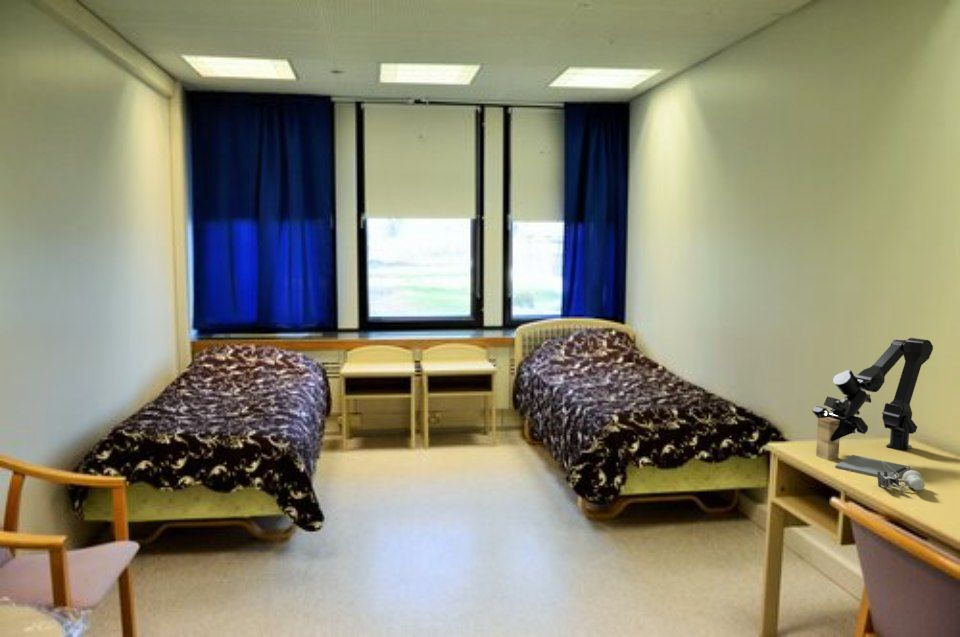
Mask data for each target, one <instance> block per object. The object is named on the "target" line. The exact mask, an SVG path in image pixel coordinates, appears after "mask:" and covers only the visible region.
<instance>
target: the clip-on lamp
mask: <svg viewBox="0 0 960 637" xmlns="http://www.w3.org/2000/svg"><path fill="white" fill-rule="evenodd" d="M881 461H882V462H881V463H882V465H883V463H884V464H886V463H885V462H883V461H884V460H881ZM886 465H887V464H886ZM883 466H884V465H883ZM887 466H888V467H890V466H889V465H887ZM884 468H885V467H884ZM890 468H891V467H890ZM907 468H908V467H902V468H900V469H898V470H894V469H893V468H891V469H892V470H893V473H891V472H889V471H888V472H889V473H891V474H895V475H894V477H895V478H894V477H891V476H889V475H887V472H886V471H885V472H884V476H881V474H880V472H877V473H878V477H877V485H878V487H883V488H885V489H887V488H888V487H892V488H896V489H899V490H900V491H901V492H905V488H904V487H903V486H902V484H900V483H904V485H906V487H909V488H912V489H914V490H915V491H920V490H923V489H924V488H925V484H926V483H925V481H924V478H923V475H922V474H921V473H920V472H919V471H917V470H914V469H909V470H907V471H906V472H905V473H904V474H902V478H900V477H899V474H898V473H900V472H901V471H903V470H905V469H907ZM885 469H886V468H885ZM886 470H887V469H886ZM896 474H897V475H898V476H896Z"/></svg>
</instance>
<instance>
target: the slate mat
mask: <svg viewBox="0 0 960 637" xmlns="http://www.w3.org/2000/svg"><path fill="white" fill-rule="evenodd" d="M882 461H883V462H885V463H886V464H887V465H889V466H890V467H891V468H893V469H894V470H898V469H900V468H902V467H908V468H907V469H905V470H903V471H901V472H900V473H898V474H899V477H898V478H900V477H901V476H903V475H904V473H905V472H906V471H909V470H911V469H910V468H911V466H910V465H904V464H900V463H896V462H890V461H884V460H880V459H877V458H876V459H875V458H871V457H866V456H860V455H855V454H852V455H850V456H848V457H847V458H845V459H843V460H842V461H840V462H838V463H836V464H835V465H834V469H839V468H840V469H839V470H843V469H845V470H844V471H848V470H851V471H850V472H853V471H855V472H854V473H857V472H859V473H858V474H862V473H863V475H866V474H868V476H871V475H872V476H871V477H876V476H877V478H878V473H877V472H880V474H881V476H884V472H885V471H886V472H887V475H889V476H891V477H894V475H895V474H891V473H893V470H892V469H891V468H890V467H888V466H887V465H886V464H884V463H883V465H884V466H883V465H882V463H881V462H882ZM884 467H885V468H886V469H887V470H886V469H885V468H884ZM888 471H889V472H891V473H889V472H888ZM896 476H898V475H897V474H896ZM894 478H895V477H894Z"/></svg>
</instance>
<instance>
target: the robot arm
mask: <svg viewBox="0 0 960 637" xmlns="http://www.w3.org/2000/svg"><path fill="white" fill-rule="evenodd" d="M933 350H934V345H933V344H932V342H931V341H930V340H929V339H923V338H915V337H909V338H908V339H893V340H892V341H891V343H890V346H889V347H888V348H887V349H886V350H885V351H884V352H883V354H881V356H879V358H878V359H877V360H876V361H875V362H874V363H873V365H871V366H870V367H867V368H865V369H863V370H861V371H860V372H859V373H858V374H856V376H855V375H854V373H853V371H852V370H850V369H846V370H844V371H842V372H839V373H838V374H836V375H834V376H833V379H832V381H833V383H834V385H835V386H836V387H837V389H838V390H839V391H840V392H841V394H842V395H843V396H844V395H845V396H844V398H843V397H841V398H835V397H833V396H832V397H831V396H826V397H825V400H824V403H823V406H825V407H822V406H820V405H819V406H818V405H817V406H816V405H815V406H814V407H813V409H812V410H811V412H812V413H813V415H814V416H815V417H816V418H817V419H818V418H826V417H830V418H833V419H837V420H840V423H839V427H838V428H837V430H836V431H835V432H834V434H833V435H832V437H831V439H830V440H831V441H835V440H837V439H839V438H840V439H841V438H844V437H846V436H849V435H851V434H856V433H859V434H862V435H865V434H866V433H867V432H868V430H869V426H868V424H867V423H866V422H865V420H864V419H863V418H862V417H860V416H859V415H860V414H861V412H860V409H861V408H862V406H863V405H864V404H865V403H870V404H871V403H872V398H871V394H868V393H867V392H871V393H877V392H878V391H880V389H881V388H882V387H883V385H884V383H885V381H886V380H885V377H886V376H887V374H888V373H889V372H890V370H892V368H893V367H894V366H895V365H896V364H897V363H898V361H900V359H901V358H902V357H903V358H904V360H905V361H904V365H903V369H902V371H901V375H900V377H899V380H898V384H897V387H896V391H895V394H894V397H893V400H891V401H890V403H889V402H885V405H884V408H883V411H882V412H881V414H882V421H883V425H884V426H883V427H884V428H885V429H889V430H890V432H889V433H890V434H889V436H890V437H889V443H887V444H886V445H885V447H886V448H890V449H896V450H901V451H908V450H909V449H911V448H913V446H912V445H911V444H910V445H909V442H910V435H912V434H915V433H916V432H917V430H918V429H917V428H918V426H917V425H916V424H915V422H914V421H913V419H912V417H913V410H912V408H911V402H912V398H913V395H914V391H915V388H916V384H917V381H918V378H919V374H920V371H921V368H922V365H924V363H926V362H927V361H928V360H929V359H930V358H931V355H932V352H933ZM826 407H828V408H830V409H829V410H830V411H831V412H832V413H831V412H830V411H829V410H828V409H827V408H826ZM856 415H857V416H856Z"/></svg>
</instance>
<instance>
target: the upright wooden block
mask: <svg viewBox="0 0 960 637" xmlns="http://www.w3.org/2000/svg"><path fill="white" fill-rule="evenodd" d="M839 423H840V420H837V419H833V418H830V417H826V418H817V428H816V429H817V430H816V431H817V433H816V449H815V450H816V451H815V455H816V456H815V457H818V458H822V459H824V460H826V461H830V460H836V459H839V455H840V439H841V438H839V439H837V440H835V441H831V440H830V439H831V437H832V435H833V434H834V432H835V431H836V430H837V428H838V427H839ZM829 459H830V460H829Z"/></svg>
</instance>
